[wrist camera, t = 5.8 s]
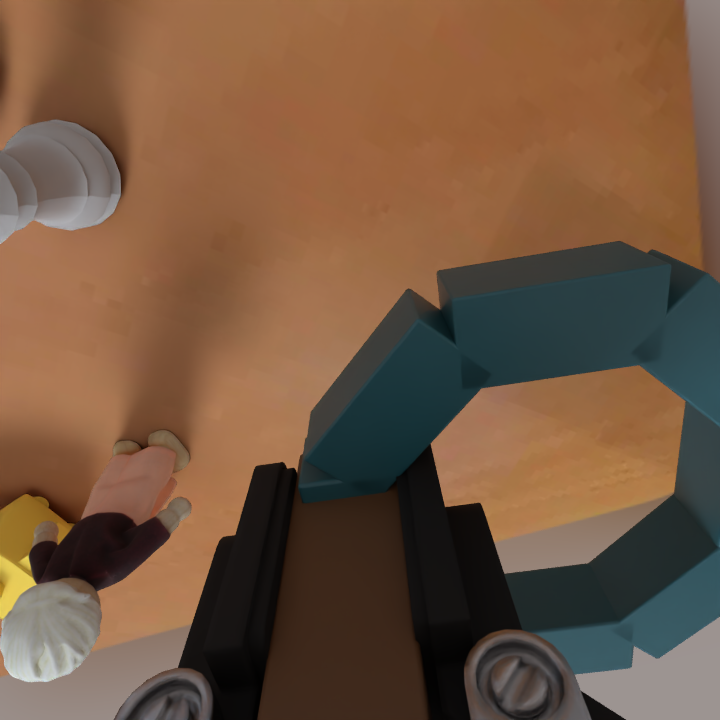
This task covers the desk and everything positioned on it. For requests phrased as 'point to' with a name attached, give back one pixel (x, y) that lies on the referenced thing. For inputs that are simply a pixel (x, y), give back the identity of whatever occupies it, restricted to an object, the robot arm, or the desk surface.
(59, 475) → the desk surface
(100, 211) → the rook chess piece
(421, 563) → the robot arm
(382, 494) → the teal segmented ring
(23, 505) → the teapot
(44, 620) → the grandmother figurine
